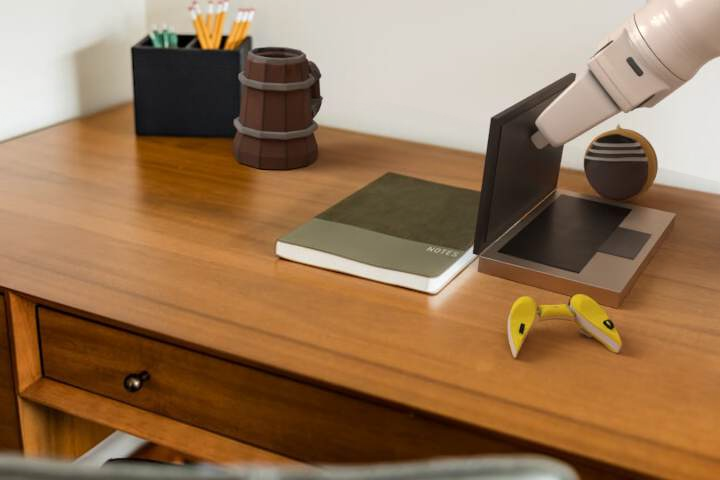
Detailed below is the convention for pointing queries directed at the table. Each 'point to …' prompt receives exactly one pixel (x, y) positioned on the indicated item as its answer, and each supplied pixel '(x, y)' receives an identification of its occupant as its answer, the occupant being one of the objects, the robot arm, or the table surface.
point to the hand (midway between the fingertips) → (538, 141)
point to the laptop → (580, 246)
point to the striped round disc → (620, 164)
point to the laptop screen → (516, 166)
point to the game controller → (577, 310)
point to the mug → (277, 109)
